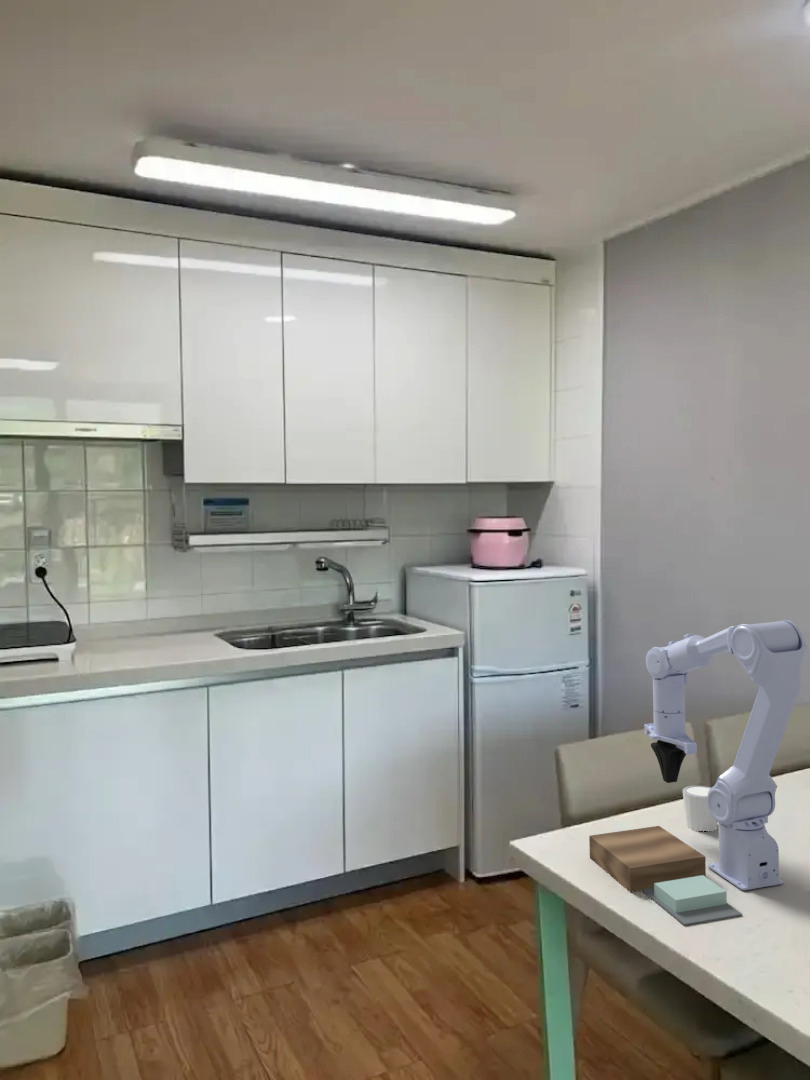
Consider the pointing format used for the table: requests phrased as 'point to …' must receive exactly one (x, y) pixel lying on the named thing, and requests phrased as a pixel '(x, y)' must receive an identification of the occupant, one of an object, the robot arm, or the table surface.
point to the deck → (645, 857)
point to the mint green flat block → (690, 893)
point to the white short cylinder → (698, 809)
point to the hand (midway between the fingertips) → (670, 781)
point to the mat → (697, 911)
